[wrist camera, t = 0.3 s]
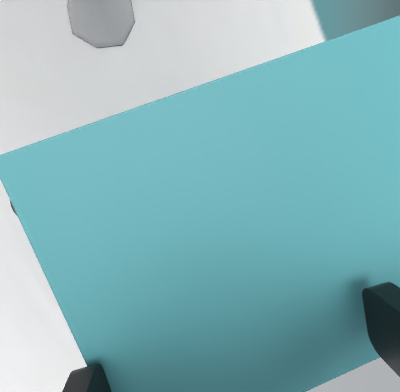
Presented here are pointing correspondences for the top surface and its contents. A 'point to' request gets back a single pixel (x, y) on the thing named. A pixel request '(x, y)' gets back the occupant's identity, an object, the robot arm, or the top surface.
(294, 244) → the teal angle bracket
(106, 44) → the flask
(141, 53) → the top surface
